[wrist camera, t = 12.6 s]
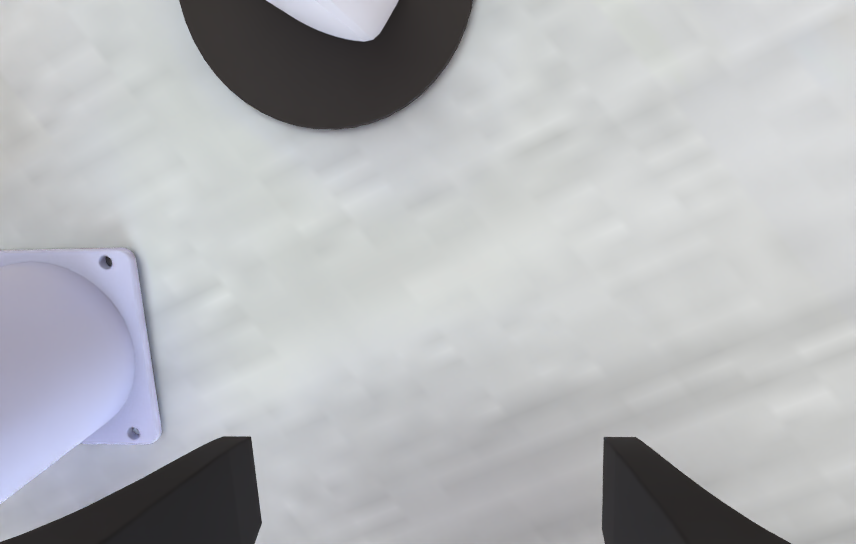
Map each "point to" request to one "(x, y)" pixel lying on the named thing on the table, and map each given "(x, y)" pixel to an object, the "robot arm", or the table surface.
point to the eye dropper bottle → (341, 16)
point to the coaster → (325, 59)
